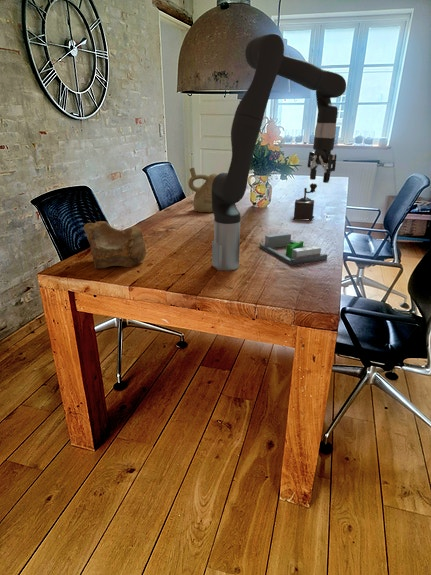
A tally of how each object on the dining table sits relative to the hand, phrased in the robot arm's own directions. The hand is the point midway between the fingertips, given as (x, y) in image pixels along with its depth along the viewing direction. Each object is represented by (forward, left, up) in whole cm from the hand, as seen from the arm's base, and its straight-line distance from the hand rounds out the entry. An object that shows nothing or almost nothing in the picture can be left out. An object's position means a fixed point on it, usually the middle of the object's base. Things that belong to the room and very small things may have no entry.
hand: (319, 181), depth 148 cm
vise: (-11, -2, -28) cm, 30 cm away
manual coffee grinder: (+32, +51, -29) cm, 67 cm away
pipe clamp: (-10, -2, -29) cm, 30 cm away
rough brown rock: (-81, +13, -29) cm, 86 cm away
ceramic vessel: (-14, +87, -29) cm, 93 cm away
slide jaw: (-11, +10, -28) cm, 32 cm away
